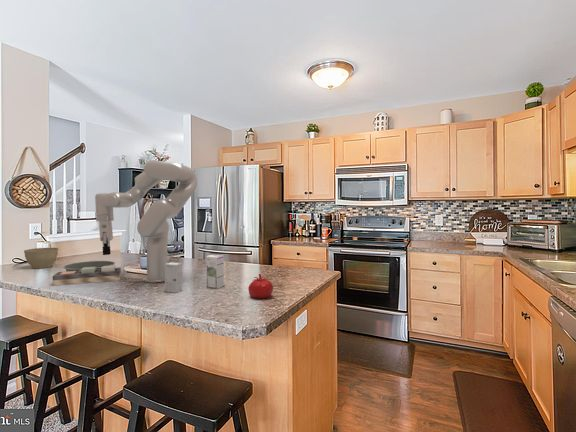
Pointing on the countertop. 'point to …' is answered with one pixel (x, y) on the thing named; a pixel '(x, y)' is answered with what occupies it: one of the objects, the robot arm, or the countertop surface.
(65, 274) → the key
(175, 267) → the skincare box
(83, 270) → the key middle
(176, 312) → the countertop surface
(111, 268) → the key
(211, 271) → the syrup box
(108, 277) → the keypad
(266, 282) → the pomegranate
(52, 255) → the planter bowl
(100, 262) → the cake pan
